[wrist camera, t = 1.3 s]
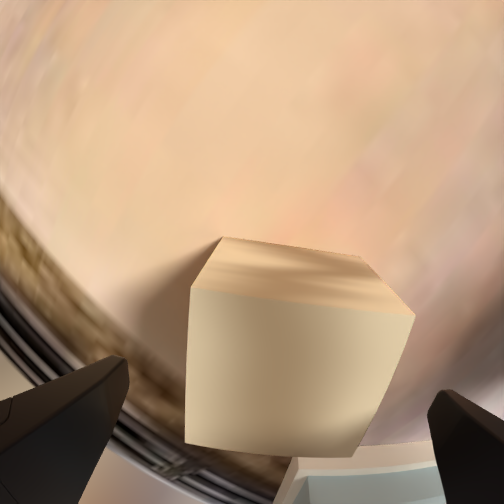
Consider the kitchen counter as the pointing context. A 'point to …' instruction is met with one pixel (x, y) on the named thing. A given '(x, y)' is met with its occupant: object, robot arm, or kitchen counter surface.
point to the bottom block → (356, 465)
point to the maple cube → (288, 350)
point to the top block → (375, 488)
